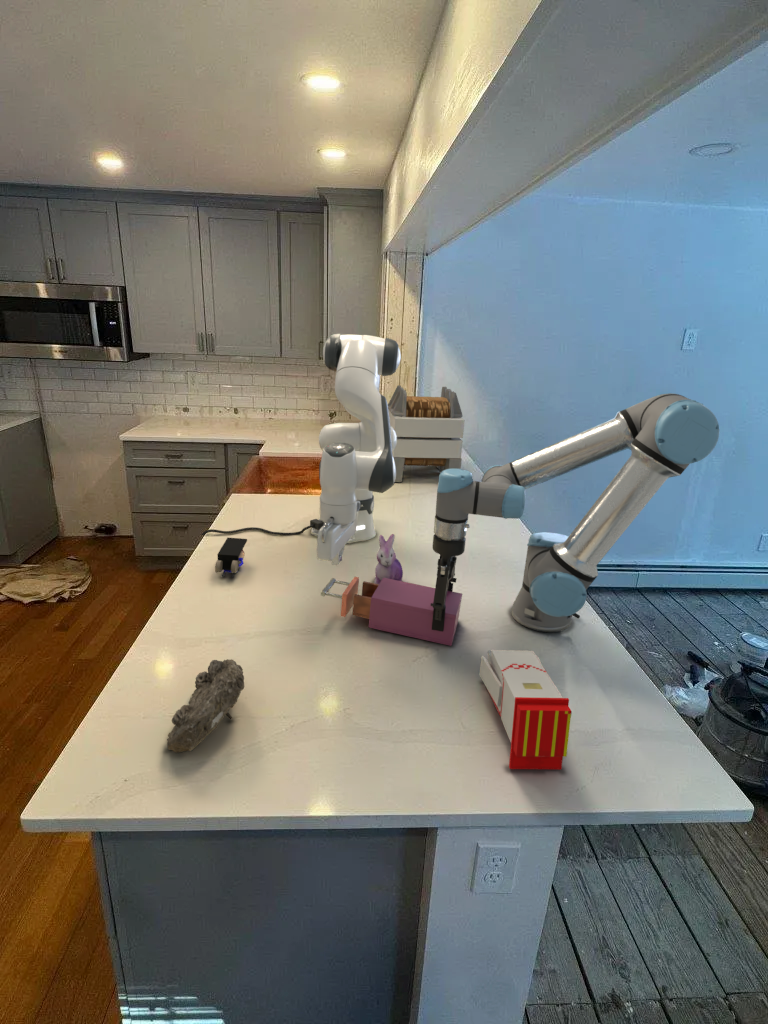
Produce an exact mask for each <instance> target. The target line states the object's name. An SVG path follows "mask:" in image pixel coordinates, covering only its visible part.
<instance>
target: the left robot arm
mask: <svg viewBox="0 0 768 1024" xmlns="http://www.w3.org/2000/svg"><path fill="white" fill-rule="evenodd" d="M325 340H326V341H325V343H324V344H323V348H322V358H323V361H324V365H325V366H326V368H327V369H328V370H330V371H333V372H335V379H334V394H335V397H336V399H337V401H338V402H339V403H340V405H341V406H342V407H343V408H344V410H345V411H346V412H347V413H348V414H349V415H350V416H352V417H354V418H356V419H357V420H359V421H360V422H335V423H330V424H329V423H328V424H325V425H323V427H322V428H321V429H320V432H319V435H318V445H319V447H320V449H321V451H322V453H321V460H320V461H319V467H318V479H319V485H320V488H321V492H320V496H319V517H318V519H317V518H314V519H310V520H309V525H307V526H305V527H304V528H302V529H301V530H300V531H295V532H281V531H280V532H279V531H271V530H268V529H265V528H262V527H255V526H253V527H243V528H239V529H234V530H220V529H212V528H211V529H207V530H205V531H203V532H202V533H201V534H200V535H201V536H205V535H207V534H208V533H216V534H223V535H229V534H230V535H231V534H237V533H241V532H246V531H260V532H262V533H263V532H264V533H267V534H268V535H269V534H270V535H275V536H295V535H300V534H304V533H305V531H306V530H309V529H311V530H310V533H311V536H315V537H316V538H317V539H316V559H317V560H318V561H322V562H330V563H331V565H332V566H339V565H340V563H341V562H343V554H344V550H345V546H346V545H347V544H352V543H357V542H365V541H368V540H372V539H373V538H375V537H376V535H377V532H376V528H375V523H374V513H373V512H374V509H375V496H374V493H379V494H383V493H385V492H387V491H388V490H390V489H391V488H392V487H393V486H394V485H395V483H396V482H395V479H396V466H395V461H394V458H393V454H392V452H393V450H394V449H395V447H396V444H397V435H396V432H395V430H394V429H393V428H392V427H391V426H390V417H389V411H388V401H387V398H386V396H385V395H383V394H381V393H380V383H381V376H382V377H387V376H388V377H389V376H392V375H393V374H395V373H396V372H397V370H398V368H399V366H400V364H401V358H402V356H401V354H402V353H401V350H400V349H401V348H400V347H399V343H398V342H397V340H395V339H392V338H389V337H385V338H384V337H379V336H376V335H369V334H342V333H333V334H331V335H329V336H328V337H327V338H326V339H325Z"/></svg>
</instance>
